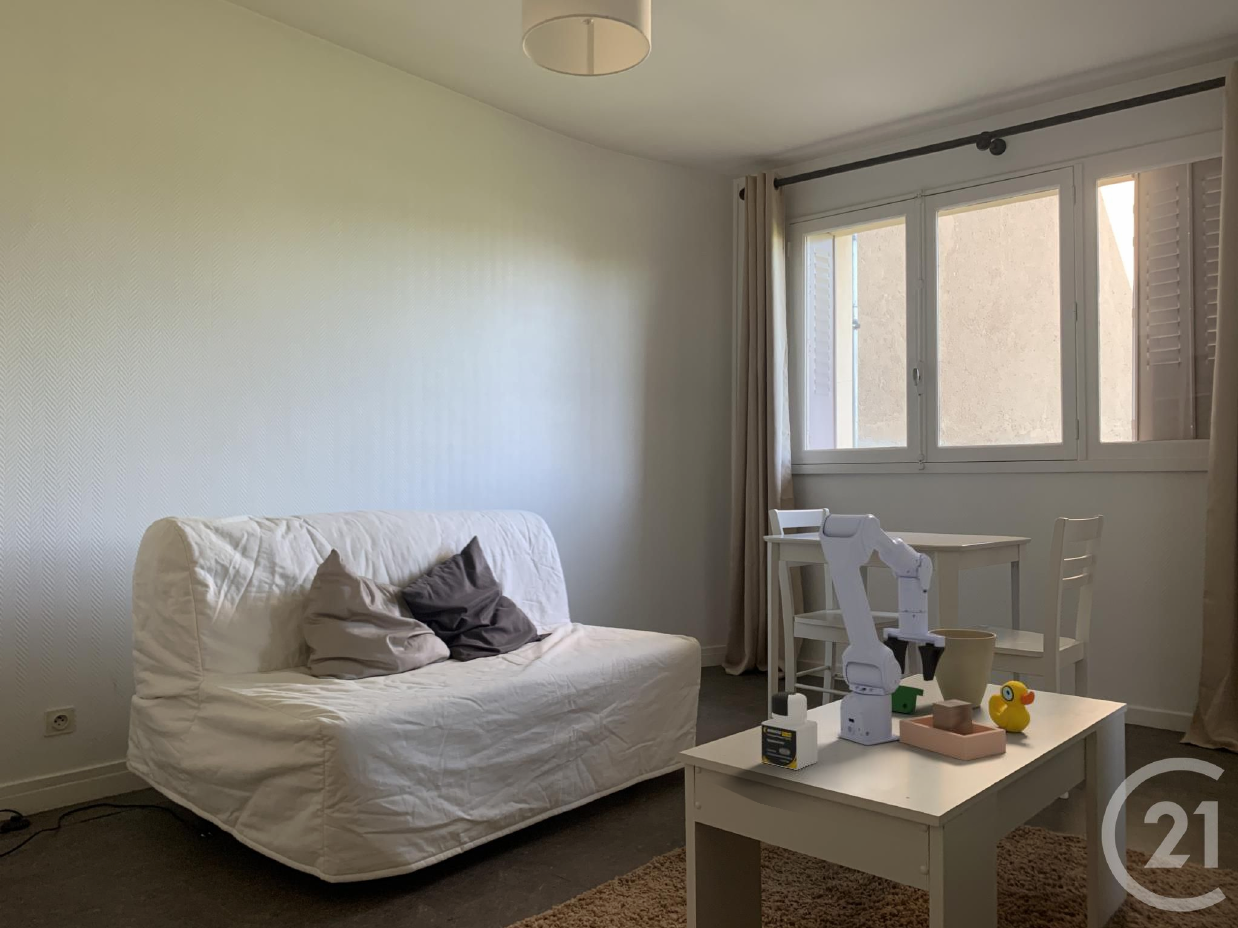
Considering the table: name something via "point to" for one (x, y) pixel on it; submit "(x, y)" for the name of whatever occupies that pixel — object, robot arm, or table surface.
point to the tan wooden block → (953, 716)
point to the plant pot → (965, 664)
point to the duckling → (1011, 706)
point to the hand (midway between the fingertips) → (913, 677)
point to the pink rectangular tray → (953, 739)
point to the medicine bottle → (789, 733)
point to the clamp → (905, 699)
